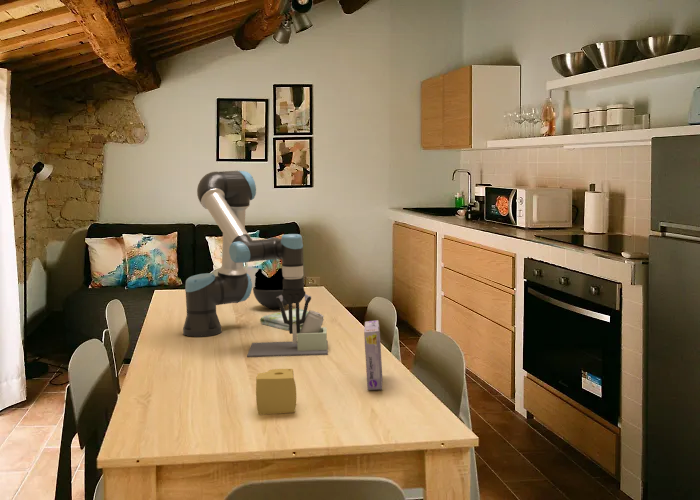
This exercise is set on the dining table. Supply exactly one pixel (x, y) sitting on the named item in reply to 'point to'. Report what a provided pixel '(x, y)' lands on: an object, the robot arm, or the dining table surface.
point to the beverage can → (312, 322)
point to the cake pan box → (373, 355)
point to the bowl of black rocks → (269, 289)
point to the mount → (293, 346)
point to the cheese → (276, 392)
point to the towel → (280, 319)
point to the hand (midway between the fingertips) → (294, 342)
